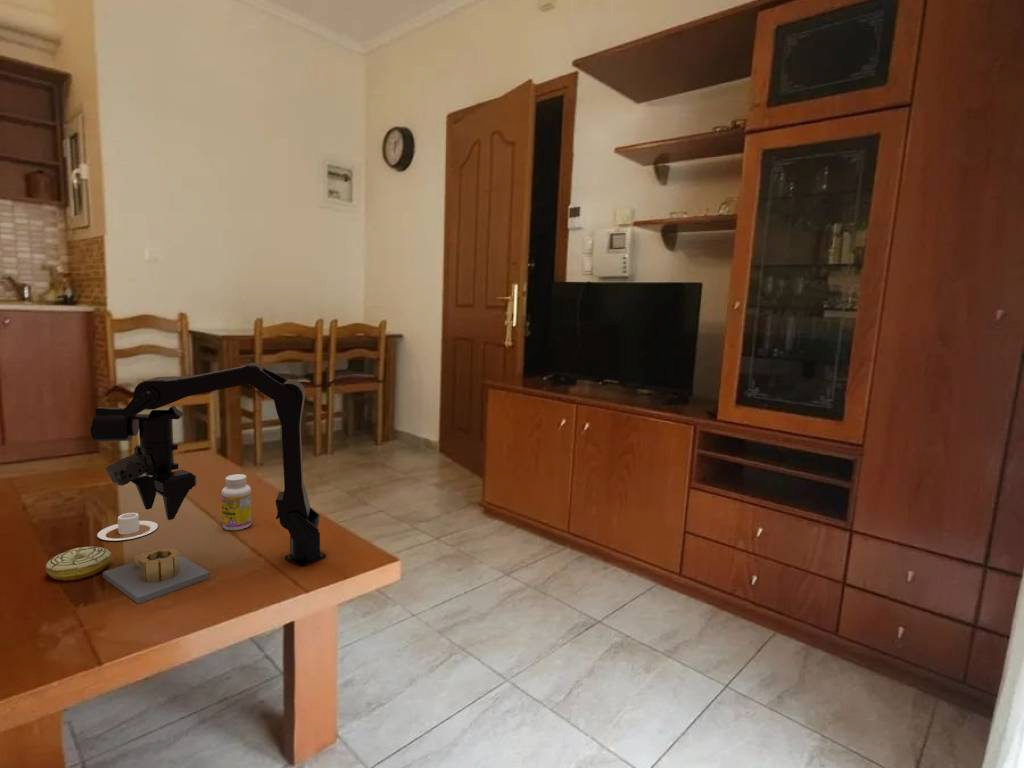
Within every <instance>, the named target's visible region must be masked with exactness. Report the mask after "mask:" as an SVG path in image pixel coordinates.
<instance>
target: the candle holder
mask: <svg viewBox="0 0 1024 768" xmlns="http://www.w3.org/2000/svg"><path fill="white" fill-rule="evenodd" d="M140 526H146V527H148V528H149V530H147V531H146V532H143V533H141V534H138V535H134V536H130V537H121V538H113V537H112V538H111V537H107V534H108V533H110V532H111V531H113V530H116V529H117V532H118V534H119V535H123V536H127V535H132V534H136V533H138V532H139V531H140ZM158 526H159V524H158V523H156V522H154V521H151V520H140V515H139V513H137V512H126V513H123V514H120V515H118V517H117V524H111V525H110V526H106V527H105V528H103V529H101V530H100V531H99V532H98V533H97V534H96V537H97V538H98V539H100V540H103V541H111V542H112V541H113V542H114V541H115V542H116V541H127V540H133V539H137V538H140V537H144V536H146V535H149V534H150V533H153V532H155V531H156V530H157V529H158Z"/></svg>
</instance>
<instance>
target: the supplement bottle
mask: <svg viewBox="0 0 1024 768" xmlns="http://www.w3.org/2000/svg"><path fill="white" fill-rule="evenodd" d="M247 480H248V479H247V475H246V474H244V473H243V474H242V473H241V474H239V473H236V474H230V475H228V476H226V477H225V484H226V485H225V486H224V487H223V488H222V489H221V519H222V520H221V524H222V528H223V529H224V530H226V531H242V530H244V528H245V529H247V528H248V527H250V526H251V525H252V522H253V521H252V519H253V518H252V513H253V512H252V488H251V486H250V485H249V484H247Z"/></svg>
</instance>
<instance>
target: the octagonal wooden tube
mask: <svg viewBox="0 0 1024 768" xmlns="http://www.w3.org/2000/svg"><path fill="white" fill-rule="evenodd" d="M179 555H180V551H178V550H177V549H175V548H160V549H157V548H156V549H154V550H151V551H147V553H146V554H143V555H142V556H141V557H140V558H139V572H140V579H141V580H142V581H144V582H159V581H164V580H167V579H170V578H173V577H174V576H176V575H177V574H178V572H179V571H180V566H179ZM158 558H164V559H161V560H155V559H158Z"/></svg>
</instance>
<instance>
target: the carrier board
mask: <svg viewBox="0 0 1024 768" xmlns="http://www.w3.org/2000/svg"><path fill="white" fill-rule="evenodd" d="M147 552H148V551H147ZM147 552H146V551H145V552H142V553H138V554H136V555H134V559H133V560H134V562H130V563H127V564H124V565H120V566H117V567H114V568H111V569H108V570H105V571H103V572H102V578H103V579H105V581H107V582H108V583H110V584H111V585H113V586H114V587H115V588H116V589H118V591H120V592H121V593H123V595H126V596H127V597H128V598H129V599H131V600H132V601H133V602H135V603H136V604H138V605H140V604H142V603H145V602H147V601H150V600H154V599H156V598H159V597H161V596H164V595H167V594H169V593H172V592H175V591H177V590H180V589H183V588H185V587H188V586H191V585H194V584H196V583H199V582H202V581H205V580H208V579H210V577H211V576H210V575H211V574H210V572H209V571H208V570H206V568H202V567H201V566H200V565H198V564H196V563H194V562H193V561H191V560H190V559H187V558H186V557H184V556H182V555H180V554H179V566H180V571H179V572H178V574H177V575H176V576H174V577H173V578H170V579H167V580H164V581H159V582H144V581H142V580H141V579H140V572H139V558H140V557H141V556H142V555H143V554H146V553H147ZM161 559H164V558H158V559H155V560H161Z"/></svg>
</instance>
